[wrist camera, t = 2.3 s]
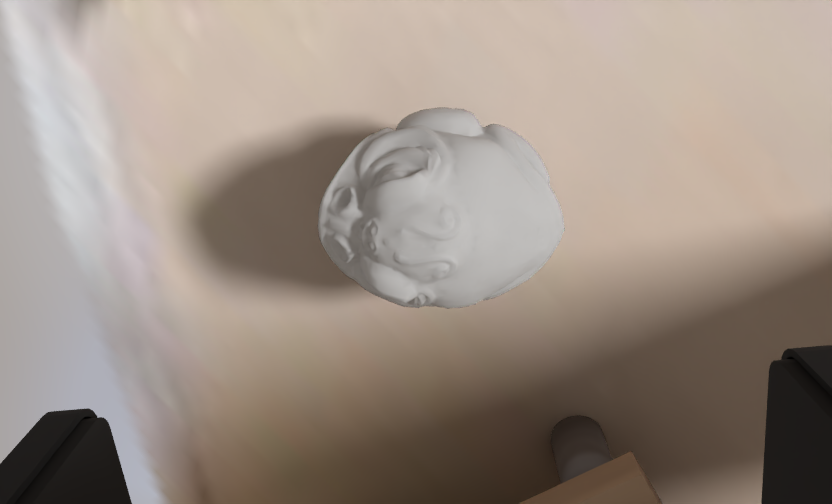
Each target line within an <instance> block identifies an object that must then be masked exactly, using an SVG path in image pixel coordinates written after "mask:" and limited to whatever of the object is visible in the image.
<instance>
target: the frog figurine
mask: <svg viewBox="0 0 832 504" xmlns="http://www.w3.org/2000/svg"><path fill="white" fill-rule="evenodd" d="M318 216H319V220H318V231H319V238H320V241H321V243H322V245H323V247H324V249H325V251H326V252H327V254H328V255H329V257H330V258H331V260H332V261H333V262H334V263H335V264H336V265H337V266H338V267H339V269H340V270H341V271H342V272H343V273H344V274H346V275H347V276H348V277H350V278H351V279H354V280H356V281H357V282H358V283H359V284H360V285H361V286H362V287H363V288H364V289H365V290H367V291H369V292H371V293H372V294H374V295H376V296H378V297H381V298H383V299H385V300H388V301H390V302H393V303H395V304H398V305H401V306H404V307H415V308H419V307H422V306H437V307H444V308H447V309H448V308H462V307H467V306H470V305H475V304H476V303H478V302H480V301H482V300H488V299H492V298H495V297H497V296H499V295H502V294H504V293H506V292H508V291H509V290H511V289H513V288H515V287H516V286H518V285H520V284H522V283H523V282H525V281H527V280H528V279H530V278H531V277H532V276H533V275H534V274H535V273H536V272H537V271H538V270H540V269H541V268H542V267H543V266H544V264H545V263H546V262H547V261H548V259H549V258H550V257H551V255H552V254H553V252H554V250H555V249H556V247H557V246H558V244H559V242H560V240H561V237H562V233H563V232H564V230H565V228H564V220H563V214H562V210H561V207H560V204H559V202H558V200H557V198H556V196H555V194H554V192H553V190H552V188H551V187H550V180H549V174H548V172H547V169H546V167H545V165H544V163H543V161H542V159H541V157H540V155H539V154H538V153H537V152H536V150H535V149H534V148H533V146H532V145H531V144H530V143H529V142H528V141H527V140H525V139H524V138H523V137H522V136H520V135H519V134H517V133H516V132H514V131H513V130H511V129H509V128H507V127H504V126H501V125H497V124H491V125H488V126H486V127H482V126H481V125H480V123H479V121H478V119H477V118H476V117H475V115H474V114H473V113H471V112H469V111H466V110H464V109H451V108H432V109H425V110H420V111H418V112H415V113H413V114H410V115H408V116H407V117H405V118H404V119H402V120H401V121H400V123H399V124H398V126H397V128H396V130H393V129H390V128H384V129H381V130H380V131H378V132H377V133H372V134H371V135H369V136H368V137H366V138H364V139H363V140H362V141H361V142H360V143H359V144H358V145H357V146H356V147H355V148H354V149H353V151H352V152H351V153H350V155H349V156H348V157H347V159H346V160H345V161H344V163H343V164H342V166H341V167H340V168H339V170H338V171H337V173H336V175H335V176H334V178H333V179H332V181H331V182H330V184H329V185H328V187H327V189H326V191H325V193H324V195H323V198H322V200H321V204H320V208H319V212H318Z"/></svg>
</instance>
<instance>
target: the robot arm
mask: <svg viewBox="0 0 832 504" xmlns="http://www.w3.org/2000/svg"><path fill="white" fill-rule="evenodd" d="M0 504H132V503H131V500H130V496H129V493H128V489H127V486H126V482H125V479H124V475H123V472H122V468H121V464H120V461H119V457H118V454H117V450H116V446H115V443H114V440H113V436H112V432H111V429H110V426H109V424H108V422H107V420H106V419H104V418H97V416H96V414H95V413H94V412H93V411H92V410H90V409H77V410H66V411H54V412H48V413H46V414H45V415H44V416H43V417H42V418H41V419H40V420H39V421H38V422H37V423H36V424H35V426H34V427H33V428H32V429H31V430H30V431H29V433H27V435H26V436H25V437H24V438H23V439H22V440H21V441H20V442H19V444H18V445H17V446H16V447H15V448H14V449H13V450H12V452H11V453H10V454H9V455H8V456H7V457H6V458H5V459H4V460H3V461H2V463H1V464H0ZM762 504H832V346H816V347H804V348H793V349H787V350H786V351H785V352H784V353H783V356H782V359H781V360H776V361H773V362H772V363H771V365H770V369H769V382H768V399H767V417H766V434H765V452H764V469H763V487H762Z"/></svg>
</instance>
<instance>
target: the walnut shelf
mask: <svg viewBox="0 0 832 504" xmlns="http://www.w3.org/2000/svg"><path fill="white" fill-rule="evenodd" d="M551 445H552V449H553V453H554V457H555V461H556V466H557V470H558V474H559V478H560V482H561V484H559V485H557V486H555V487H553V488H551V489H549V490H546V491H544V492H542V493H540V494H538V495H536V496H534V497H531V498H529V499H527V500H525V501H523V502H521V503H519V504H662V502H661V500H660V499H659V497H658V495H657V494H656V492H655V490H654V488H653V487H652V485H651V483H650V482H649V480H648V478H647V477H646V475H645V473H644V472H643V470H642V468H641V467H640V465H639V463H638V461H637V460H636V458H635V456H634V455H633V453H632V451H630V452H628V453H626V454H624V455H622V456H619V457H617V458H615V459H613V460H612V457H611V455H610V452H609V449H608V446H607V444H606V441H605V438H604V435H603V433H602V430H601V428H600V426H599V425H598V424H597V423H596V422H595V421H594V420H592V419H590V418H588V417H584V416H572V417H568V418H566V419H564V420H562V421H560V422H559V423H558V424H557V425H556V426H555V427H554V429H553V431H552V434H551Z"/></svg>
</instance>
